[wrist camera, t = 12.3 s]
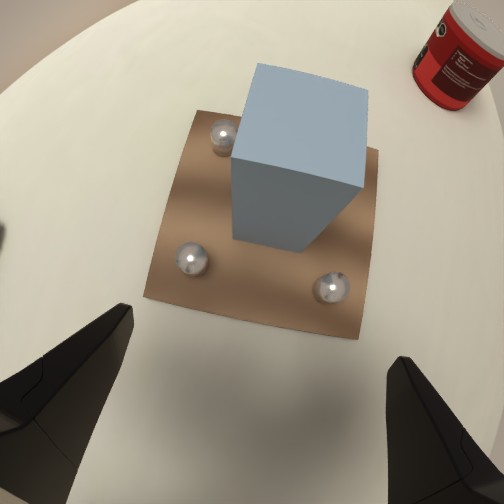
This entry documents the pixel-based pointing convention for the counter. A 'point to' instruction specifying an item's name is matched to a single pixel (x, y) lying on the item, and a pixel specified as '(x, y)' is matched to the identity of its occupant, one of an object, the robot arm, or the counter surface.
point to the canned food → (459, 57)
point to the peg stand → (257, 248)
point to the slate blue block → (296, 157)
